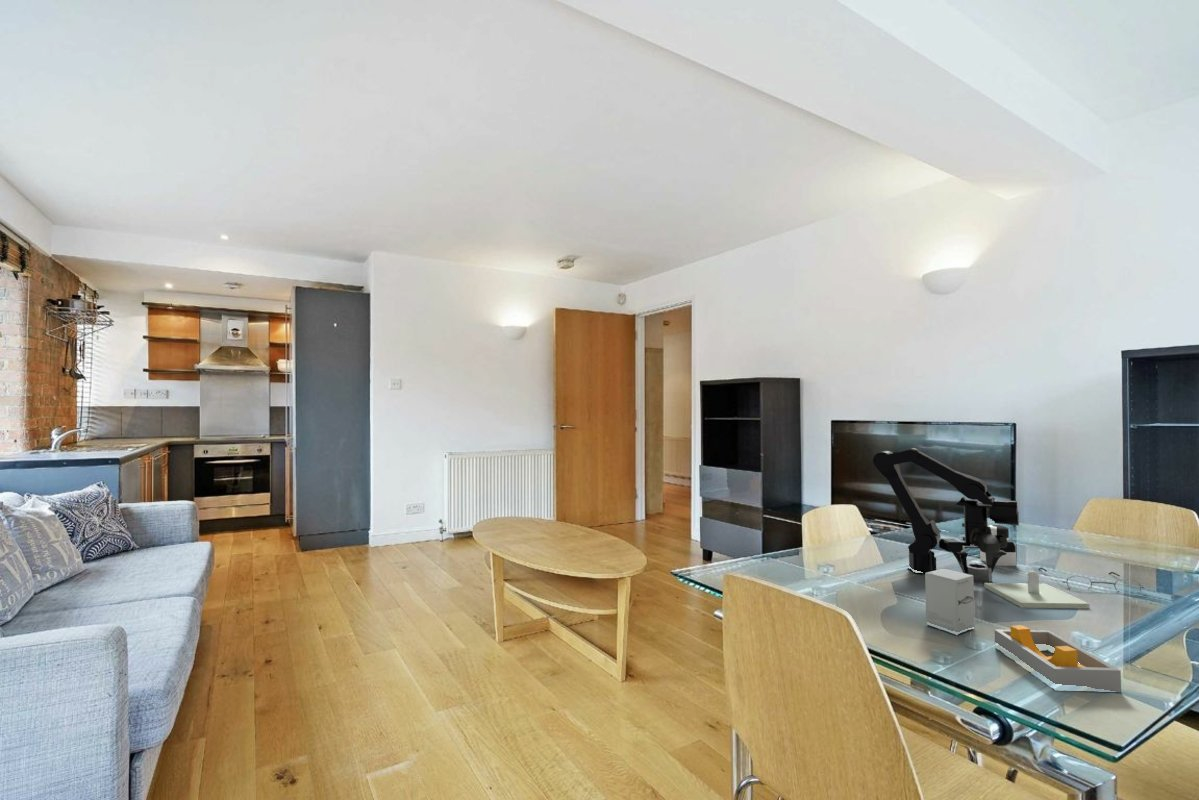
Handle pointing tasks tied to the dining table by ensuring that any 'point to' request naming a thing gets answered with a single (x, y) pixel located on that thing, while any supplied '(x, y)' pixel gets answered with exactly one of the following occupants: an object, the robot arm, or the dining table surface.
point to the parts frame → (1090, 675)
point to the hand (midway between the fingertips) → (977, 574)
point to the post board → (1035, 594)
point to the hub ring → (980, 572)
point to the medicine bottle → (1010, 556)
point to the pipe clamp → (1060, 658)
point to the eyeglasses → (1098, 581)
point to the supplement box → (950, 599)
